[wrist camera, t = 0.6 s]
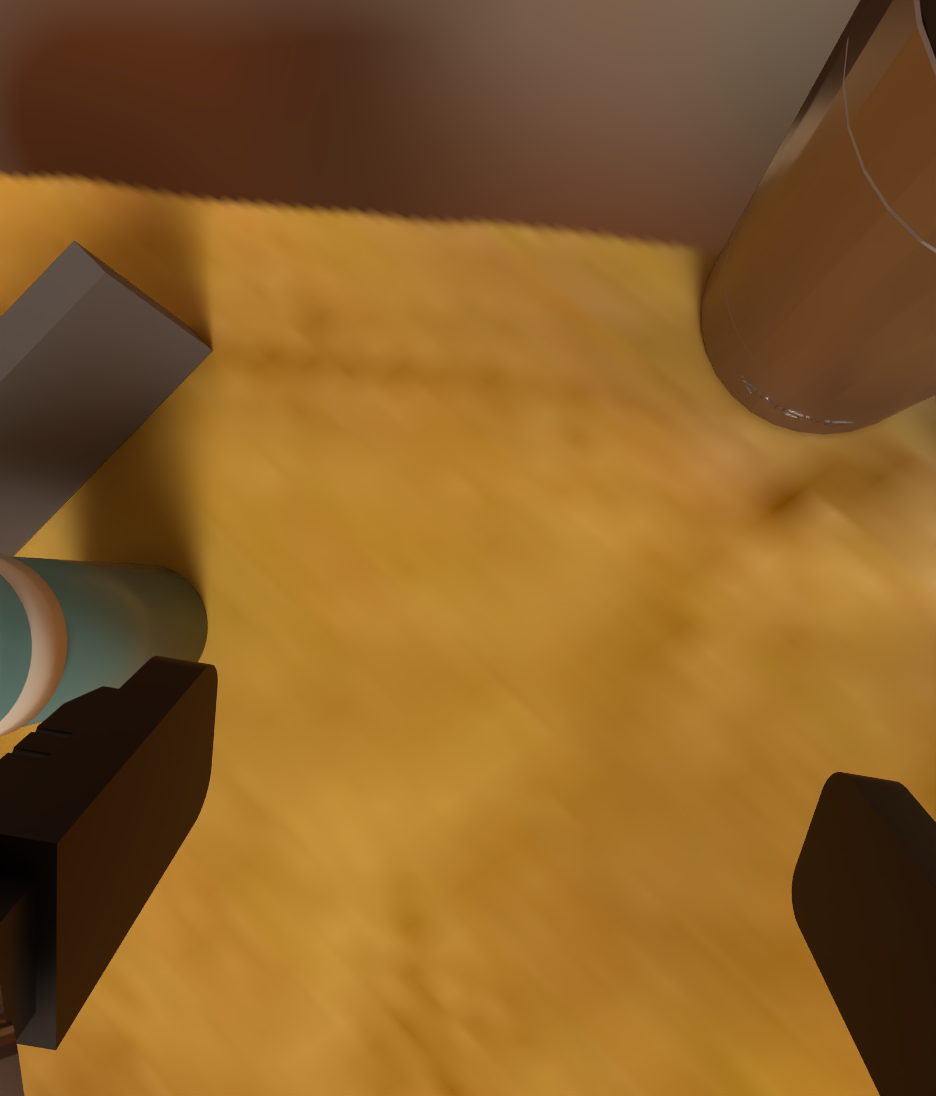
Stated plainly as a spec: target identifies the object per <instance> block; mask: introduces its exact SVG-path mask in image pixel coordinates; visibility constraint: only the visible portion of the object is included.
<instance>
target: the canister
mask: <svg viewBox="0 0 936 1096" xmlns="http://www.w3.org/2000/svg"><path fill="white" fill-rule="evenodd" d="M206 638H207V616H206V612H205V608H204V605H203V602H202V600H201V598H200V596H199V594H198V593H197V591H196V590H195V588H194V587H193V586H192V585H191V584H190V583H189V582H188V581H187V580H186V579H185V578H184V577H182V576H181V575H180V574H178V573H176V572H174V571H173V570H170V569H168V568H165V567H161V566H155V565H142V564H125V563H108V562H92V561H75V560H58V559H42V558H25V557H9V556H7V555H3V554H0V737H1V736H4V735H7V734H9V733H11V732H14V731H16V730H18V729H19V728H21V727H25V726H28V725H32V724H36V723H40V722H43V721H44V720H45V719H47V718H48V717H49V716H50V715H51V714H52V713H53V712H55V711H56V710H57V709H58V708H59V707H60V706H61V705H63V704H64V703H66V702H68V701H70V700H72V699H75V698H77V697H79V696H82V695H84V694H86V693H88V692H91V691H93V690H95V689H97V688H100V687H102V686H106V687H112V688H118V689H119V688H120V687H121V686H122V685H123V684H124V683H125V682H126V681H127V680H128V679H129V678H131V677H132V676H133V675H134V674H135V673H136V672H137V671H138V670H139V669H140V668H141V667H142V666H143V665H144V664H145V663H146V662H147V661H148V660H149V659H150V658H152V657H153V656H163V657H169V658H175V659H181V660H187V661H193V662H198V660H199V659H200V657H201V655H202V652H203V650H204V647H205V643H206Z"/></svg>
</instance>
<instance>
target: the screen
mask: <svg viewBox="0 0 936 1096" xmlns="http://www.w3.org/2000/svg"><path fill="white" fill-rule="evenodd" d="M212 351H213V350H212V349H211V348H210V347H209V346H208V345H207V344H206V343H205V342H204V341H203V340H202V339H201V338H200V337H199V336H198V335H197V334H196V333H195V332H194V331H193V330H192V329H191V328H190V327H189V326H187V325H186V324H185V323H183V322H182V321H181V320H179V319H178V318H177V317H175V316H174V315H173V314H171V313H170V312H169V311H167V310H166V309H165V308H163V307H162V306H161V305H159V304H158V303H157V302H155V301H154V300H153V299H151V298H150V297H149V296H147V295H146V294H145V293H143V292H142V291H141V290H139V289H138V288H137V287H135V286H134V285H133V284H131V283H130V282H129V281H127V280H126V279H125V278H123V277H122V276H121V275H119V274H118V273H117V272H115V271H114V270H113V269H111V268H110V267H109V266H107V265H106V264H105V263H103V262H102V261H101V260H99V259H98V258H97V257H95V256H94V255H93V254H91V253H90V252H89V251H87V250H86V249H85V248H83V247H82V246H81V245H79V244H78V243H77V242H75V241H73V243H72V244H71V245H70V246H69V247H68V248H67V249H66V250H65V251H64V252H63V253H62V254H61V255H60V256H59V257H58V258H57V259H56V260H55V261H54V262H53V263H52V264H51V265H50V267H49V268H48V269H47V270H46V271H45V272H44V273H43V274H42V275H41V276H40V277H39V278H38V279H37V280H36V281H35V282H34V283H33V284H32V285H31V286H30V287H29V288H28V289H27V291H26V292H25V293H24V294H23V295H22V296H21V297H20V298H19V299H18V300H17V301H16V302H15V303H14V304H13V305H12V306H11V307H10V308H9V309H8V310H7V311H6V312H5V314H4V315H3V316H2V317H1V318H0V554H3V555H7V556H9V557H13V556H14V555H15V554H16V553H17V552H18V551H19V550H20V549H21V548H22V547H23V546H24V545H25V544H26V543H27V542H28V541H29V540H30V539H31V538H32V537H33V535H34V534H35V533H36V532H37V531H38V530H39V529H40V528H41V527H42V526H43V525H44V524H45V523H46V522H47V521H48V520H49V519H50V518H51V517H52V516H53V515H54V514H55V513H56V512H57V511H58V510H59V509H60V508H61V507H62V506H63V505H64V503H65V502H66V501H67V500H68V499H69V498H70V497H71V496H72V495H73V494H74V493H75V492H76V491H77V490H78V489H79V488H80V487H81V486H82V485H83V484H84V483H85V482H86V481H87V480H88V479H89V478H90V477H91V476H92V475H93V474H94V473H95V472H96V470H97V469H98V468H99V467H100V466H101V465H102V464H103V463H104V462H105V461H106V460H107V459H108V458H109V457H110V456H111V455H112V454H113V453H114V452H115V451H116V450H117V449H118V448H119V447H120V446H121V445H122V444H123V443H124V442H125V441H126V440H127V439H128V437H129V436H130V435H131V434H132V433H133V432H134V431H135V430H136V429H137V428H138V427H139V426H140V425H141V424H142V423H143V422H144V421H145V420H146V419H147V418H148V417H149V416H150V415H151V414H152V413H153V412H154V411H155V410H156V409H157V408H158V407H159V406H160V404H161V403H162V402H163V401H164V400H165V399H166V398H167V397H168V396H169V395H170V394H171V393H172V392H173V391H174V390H175V389H176V388H177V387H178V386H179V385H180V384H181V383H182V382H183V381H184V380H185V379H186V378H187V377H188V376H189V375H190V374H191V373H192V371H193V370H194V369H195V368H196V367H197V366H198V365H199V364H200V363H201V362H202V361H203V360H204V359H205V358H206V357H207V356H208V355H209V354H210V353H211V352H212Z"/></svg>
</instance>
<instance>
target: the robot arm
mask: <svg viewBox="0 0 936 1096" xmlns="http://www.w3.org/2000/svg"><path fill="white" fill-rule="evenodd" d="M701 330H702V334H703V339H704V344H705V348H706V353H707V355H708V357H709V360H710V362H711V364H712V366H713V368H714V370H715V373H716V375H717V376H718V378H719V379H720V380H721V382H722V383H723V384H724V386H725V387H726V388H727V390H728V391H729V392H730V394H731V395H732V396H733V397H734V398H735V399H737V400H738V401H739V402H740V403H741V404H742V405H744V406H745V407H746V408H747V409H748V410H749V411H751V412H752V413H754V414H756V415H758V416H759V417H761V418H763V419H765V420H767V421H768V422H770V423H772V424H774V425H778V426H781V427H784V428H787V429H791V430H794V431H797V432H806V433H816V434H832V433H841V432H850V431H854V430H857V429H860V428H863V427H866V426H869V425H872V424H875V423H878V422H880V421H882V420H884V419H886V418H888V417H890V416H892V415H894V414H896V413H898V412H900V411H902V410H904V409H906V408H908V407H910V406H913V405H915V404H917V403H919V402H921V401H923V400H926V399H928V398H930V397H932V396H934V395H936V0H860V2H859V4H858V6H857V8H856V9H855V11H854V13H853V15H852V16H851V19H850V20H849V22H848V24H847V25H846V27H845V29H844V31H843V33H842V35H841V36H840V38H839V40H838V42H837V44H836V45H835V47H834V49H833V51H832V53H831V55H830V56H829V58H828V60H827V62H826V64H825V65H824V67H823V69H822V71H821V73H820V74H819V77H818V78H817V80H816V82H815V84H814V85H813V87H812V89H811V91H810V93H809V95H808V96H807V98H806V100H805V102H804V104H803V106H802V107H801V109H800V111H799V113H798V115H797V116H796V118H795V120H794V122H793V124H792V125H791V127H790V129H789V131H788V133H787V135H786V136H785V138H784V140H783V142H782V144H781V145H780V147H779V149H778V151H777V153H776V154H775V156H774V158H773V160H772V162H771V163H770V165H769V167H768V169H767V171H766V172H765V174H764V176H763V178H762V180H761V182H760V183H759V185H758V187H757V189H756V191H755V192H754V194H753V196H752V198H751V200H750V202H749V203H748V205H747V207H746V209H745V210H744V212H743V213H742V215H741V217H740V219H739V221H738V223H737V224H736V226H735V228H734V230H733V232H732V233H731V235H730V237H729V239H728V241H727V243H726V244H725V246H724V248H723V250H722V252H721V254H720V255H719V257H718V259H717V261H716V263H715V265H714V268H713V270H712V272H711V274H710V276H709V278H708V280H707V284H706V288H705V292H704V297H703V301H702V318H701ZM217 683H218V678H217V671H216V668H215V666H214V665H211V664H205V663H199V662H193V661H187V660H181V659H175V658H169V657H163V656H153V657H152V658H150V659H149V660H148V661H147V662H146V663H145V664H144V665H143V666H142V667H141V668H140V669H139V670H138V671H137V672H136V673H135V674H134V675H133V676H132V677H131V678H129V679H128V680H127V681H126V682H125V683H124V684H123V685H122V686H121V687H120V688H119V689H118V688H112V687H106V686H102V687H100V688H97V689H95V690H93V691H91V692H88V693H86V694H84V695H82V696H79V697H77V698H75V699H72V700H70V701H68V702H66V703H64V704H63V705H61V706H60V707H59V708H58V709H57V710H56V711H55V712H53V713H52V714H51V715H50V716H49V717H48V718H47V719H45V720H44V721H43V722H42V723H41V724H40V725H39V726H38V727H37V729H36V732H31V733H30V734H28V735H27V736H26V737H25V738H24V739H23V740H22V741H20V742H19V743H18V744H17V745H16V746H15V747H14V750H13V752H12V753H7V754H6V755H5V756H3V757H2V758H1V759H0V1096H24V1091H23V1084H22V1077H21V1070H20V1063H19V1055H18V1049H17V1044H22V1045H28V1046H34V1047H40V1048H46V1049H52V1050H56V1049H57V1047H58V1046H59V1044H60V1043H61V1041H62V1039H63V1038H64V1036H65V1034H66V1033H67V1031H68V1029H69V1028H70V1026H71V1025H72V1023H73V1021H74V1020H75V1018H76V1016H77V1015H78V1013H79V1011H80V1010H81V1008H82V1007H83V1005H84V1003H85V1002H86V1000H87V998H88V997H89V995H90V993H91V992H92V990H93V989H94V987H95V985H96V984H97V982H98V980H99V979H100V977H101V975H102V974H103V972H104V971H105V969H106V967H107V966H108V964H109V962H110V961H111V959H112V957H113V956H114V954H115V953H116V951H117V949H118V948H119V946H120V944H121V943H122V941H123V939H124V938H125V936H126V935H127V933H128V931H129V930H130V928H131V926H132V925H133V923H134V921H135V920H136V918H137V917H138V915H139V913H140V912H141V910H142V908H143V907H144V905H145V903H146V902H147V900H148V898H149V897H150V895H151V894H152V892H153V890H154V889H155V887H156V885H157V884H158V882H159V880H160V879H161V877H162V876H163V874H164V872H165V871H166V869H167V867H168V866H169V864H170V862H171V861H172V859H173V858H174V856H175V854H176V853H177V851H178V849H179V848H180V846H181V844H182V843H183V841H184V840H185V838H186V836H187V835H188V833H189V831H190V830H191V828H192V826H193V825H194V823H195V821H196V820H197V818H198V816H199V813H200V811H201V809H202V806H203V803H204V800H205V797H206V794H207V790H208V786H209V781H210V775H211V766H212V752H213V739H214V725H215V712H216V698H217ZM792 904H793V910H794V915H795V918H796V921H797V924H798V926H799V928H800V930H801V932H802V934H803V936H804V939H805V941H806V943H807V945H808V947H809V949H810V951H811V953H812V955H813V957H814V959H815V961H816V963H817V966H818V968H819V970H820V972H821V974H822V976H823V978H824V980H825V982H826V984H827V986H828V988H829V990H830V993H831V995H832V997H833V999H834V1001H835V1003H836V1005H837V1007H838V1009H839V1011H840V1013H841V1015H842V1017H843V1020H844V1022H845V1024H846V1026H847V1028H848V1030H849V1032H850V1034H851V1036H852V1038H853V1040H854V1042H855V1044H856V1047H857V1049H858V1051H859V1053H860V1055H861V1057H862V1059H863V1061H864V1063H865V1065H866V1067H867V1069H868V1071H869V1074H870V1076H871V1078H872V1080H873V1082H874V1084H875V1086H876V1088H877V1090H878V1092H879V1094H880V1096H936V822H935V821H934V820H933V819H932V818H931V816H930V815H929V814H928V813H927V812H926V811H925V809H924V808H923V807H922V806H921V805H920V803H919V802H918V801H917V800H916V799H915V798H914V796H913V795H912V794H911V793H910V792H909V791H908V789H907V788H906V787H905V786H904V785H902V784H901V783H899V782H896V781H890V780H884V779H879V778H873V777H867V776H861V775H855V774H849V773H843V772H836V773H834V774H832V775H831V776H830V777H829V778H828V780H827V781H826V783H825V785H824V787H823V789H822V792H821V795H820V798H819V801H818V804H817V807H816V809H815V812H814V815H813V818H812V821H811V824H810V827H809V830H808V833H807V835H806V838H805V841H804V844H803V847H802V850H801V853H800V856H799V859H798V861H797V864H796V867H795V871H794V875H793V881H792Z"/></svg>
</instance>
